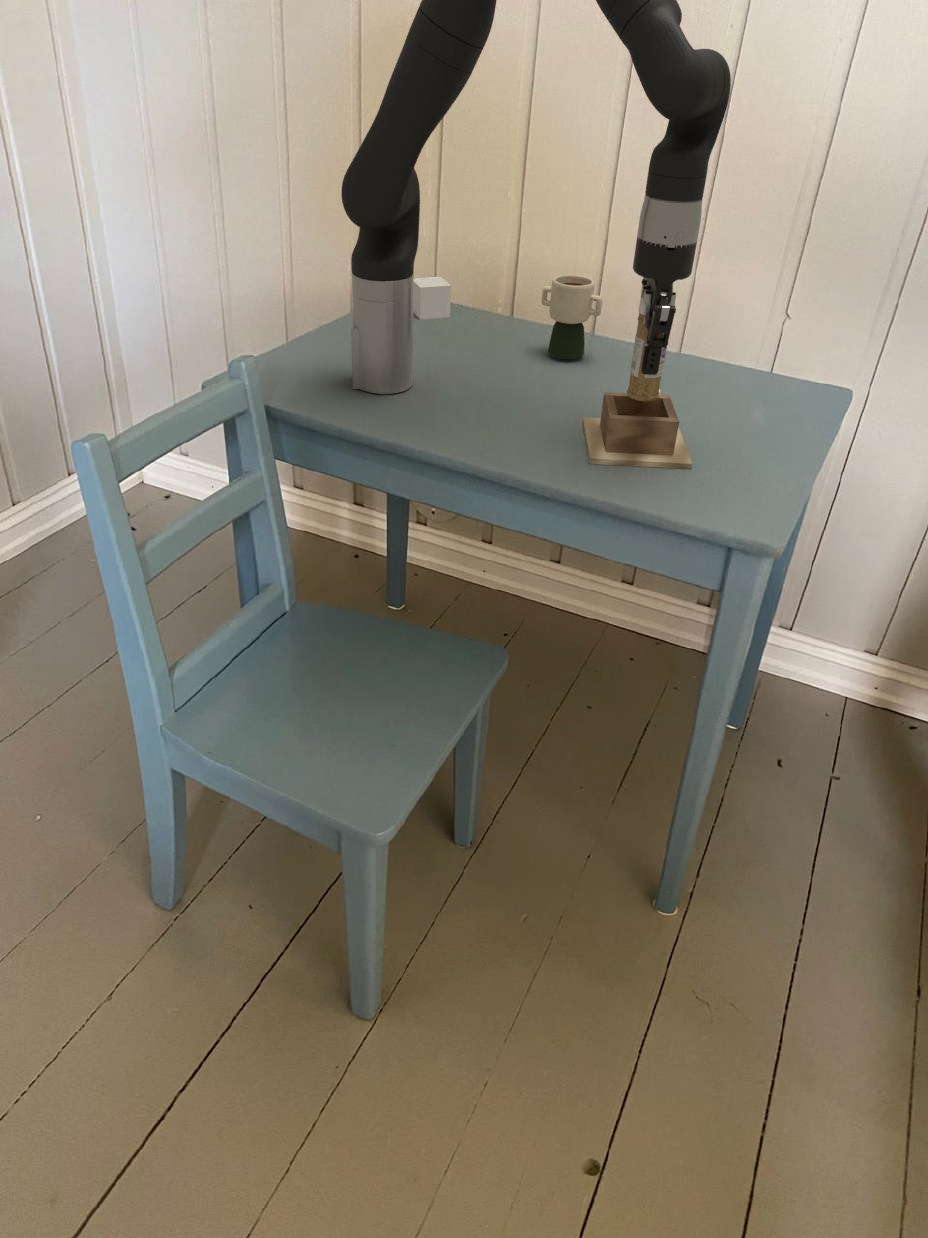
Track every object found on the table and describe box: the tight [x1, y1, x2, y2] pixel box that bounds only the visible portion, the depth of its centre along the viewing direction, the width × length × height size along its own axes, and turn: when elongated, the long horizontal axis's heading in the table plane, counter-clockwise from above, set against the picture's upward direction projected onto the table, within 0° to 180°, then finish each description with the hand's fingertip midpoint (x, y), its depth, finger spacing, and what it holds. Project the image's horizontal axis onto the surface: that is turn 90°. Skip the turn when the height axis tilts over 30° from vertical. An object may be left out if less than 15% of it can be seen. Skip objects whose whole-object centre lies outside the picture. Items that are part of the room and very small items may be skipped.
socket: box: [582, 391, 693, 470], centre depth 131 cm, size 14×14×6 cm
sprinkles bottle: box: [626, 296, 676, 401], centre depth 125 cm, size 5×5×13 cm
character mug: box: [541, 274, 603, 360], centre depth 158 cm, size 11×7×13 cm, turn 61°
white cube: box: [413, 276, 452, 320], centre depth 176 cm, size 6×6×6 cm
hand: (646, 366), depth 127 cm, fingers closed on sprinkles bottle, 4 cm apart
